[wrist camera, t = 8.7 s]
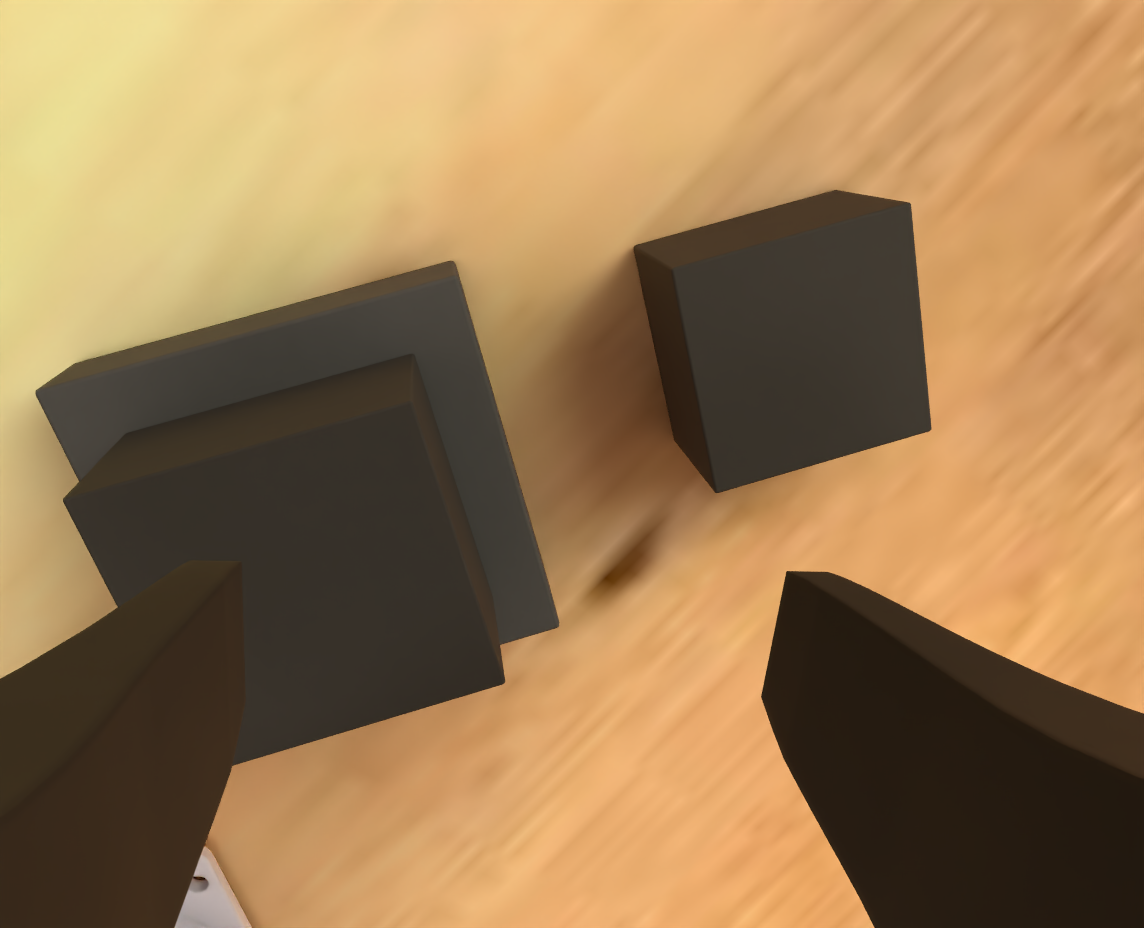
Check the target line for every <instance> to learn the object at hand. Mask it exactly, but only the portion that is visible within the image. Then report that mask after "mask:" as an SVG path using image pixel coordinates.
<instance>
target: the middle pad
mask: <svg viewBox="0 0 1144 928" xmlns="http://www.w3.org/2000/svg"><path fill="white" fill-rule="evenodd" d="M63 502H64V504H65V506H66V508H67V510H68V512H69V514H70V516H71V518H72V520H73V522H74V523H75V525H76V527H77V529H78V531H79V533H80V535H81V537H82V539H83V541H84V543H85V545H86V547H87V549H88V551H89V553H90V554H91V556H92V558H93V560H94V562H95V564H96V566H97V568H98V570H99V572H100V574H101V576H102V578H103V580H104V582H105V584H106V585H107V587H108V589H109V591H110V593H111V595H112V597H113V599H114V601H115V603H116V605H117V607H120V606H121V605H123V604H124V603H126V602H127V601H129V600H130V599H132V598H133V597H135V596H136V595H137V594H139V593H140V592H142V591H143V590H145V589H146V588H148V587H149V586H151V585H152V584H154V583H155V582H156V581H158V580H159V579H161V578H162V577H164V576H165V575H167V574H168V573H170V572H171V571H173V570H174V569H176V568H177V567H179V566H181V565H182V564H184V563H186V562H188V561H190V560H201V561H242V593H243V625H244V657H245V690H246V703H245V707H244V712H243V717H242V722H241V727H240V732H239V737H238V742H237V746H236V751H235V755H234V759H233V764H232V766H233V765H236V764H240V763H243V762H246V761H250V760H253V759H256V758H260V757H263V756H266V755H270V754H273V753H276V752H280V751H283V750H286V749H289V748H293V747H296V746H299V745H303V744H306V743H309V742H313V741H316V740H319V739H323V738H326V737H329V736H333V735H336V734H339V733H343V732H346V731H349V730H353V729H356V728H359V727H363V726H366V725H369V724H372V723H376V722H379V721H382V720H386V719H389V718H392V717H396V716H399V715H402V714H406V713H409V712H412V711H416V710H419V709H422V708H426V707H429V706H432V705H436V704H439V703H442V702H446V701H449V700H452V699H456V698H459V697H462V696H465V695H469V694H472V693H475V692H479V691H482V690H485V689H489V688H492V687H495V686H499V685H502V684H504V683H505V677H504V670H503V663H502V656H501V649H500V643H499V636H498V629H497V622H496V615H495V608H494V602H493V596H492V593H491V590H490V587H489V584H488V581H487V577H486V574H485V571H484V568H483V565H482V562H481V559H480V556H479V553H478V550H477V547H476V543H475V540H474V537H473V534H472V531H471V528H470V525H469V522H468V519H467V516H466V512H465V509H464V506H463V503H462V500H461V497H460V494H459V491H458V488H457V485H456V482H455V478H454V475H453V472H452V469H451V466H450V463H449V460H448V457H447V454H446V451H445V448H444V444H443V441H442V438H441V435H440V432H439V429H438V426H437V423H436V420H435V417H434V414H433V410H432V407H431V404H430V401H429V398H428V395H427V392H426V389H425V386H424V383H423V380H422V376H421V373H420V370H419V367H418V364H417V361H416V358H415V355H414V354H408V355H404V356H400V357H397V358H393V359H390V360H386V361H383V362H379V363H375V364H372V365H368V366H365V367H361V368H357V369H354V370H350V371H347V372H343V373H340V374H336V375H332V376H329V377H325V378H322V379H318V380H315V381H311V382H307V383H304V384H300V385H297V386H293V387H289V388H286V389H282V390H279V391H275V392H272V393H268V394H264V395H261V396H257V397H254V398H250V399H246V400H243V401H239V402H236V403H232V404H229V405H225V406H221V407H218V408H214V409H211V410H207V411H204V412H200V413H196V414H193V415H189V416H186V417H182V418H178V419H175V420H171V421H168V422H164V423H161V424H157V425H153V426H150V427H146V428H143V429H139V430H135V431H132V432H128V433H126V434H124V435H123V436H122V438H121V439H120V440H119V441H118V442H117V443H116V444H115V445H114V446H113V447H112V448H111V449H110V450H109V451H108V452H107V453H106V454H105V455H104V457H103V458H102V459H101V460H100V461H99V462H98V463H97V464H96V465H95V466H94V467H93V468H92V469H91V470H90V471H89V472H88V473H87V474H86V475H85V477H84V478H83V479H82V480H81V481H80V482H79V483H78V484H77V485H76V486H75V487H74V488H73V489H72V490H71V491H70V492H69V493H68V494H67V495H66V497H65V498H64V499H63Z"/></svg>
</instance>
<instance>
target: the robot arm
mask: <svg viewBox="0 0 1144 928" xmlns="http://www.w3.org/2000/svg"><path fill="white" fill-rule="evenodd" d="M761 698H762V700H763V703H764V706H765V709H766V712H767V715H768V718H769V721H770V724H771V726H772V729H773V732H774V735H775V737H776V740H777V742H778V745H779V747H780V750H781V753H782V755H783V758H784V760H785V762H786V764H787V766H788V768H789V770H790V772H791V773H792V775H793V777H794V779H795V781H796V783H797V785H798V787H799V788H800V790H801V792H802V794H803V796H804V798H805V800H806V801H807V803H808V805H809V807H810V809H811V811H812V812H813V814H814V816H815V818H816V820H817V821H818V823H819V825H820V827H821V829H822V830H823V832H824V834H825V836H826V838H827V839H828V841H829V843H830V845H831V847H832V849H833V850H834V852H835V854H836V856H837V858H838V859H839V861H840V863H841V865H842V867H843V868H844V870H845V872H846V874H847V876H848V877H849V879H850V881H851V883H852V885H853V887H854V888H855V890H856V892H857V894H858V896H859V897H860V899H861V901H862V903H863V905H864V907H865V909H866V911H867V913H868V915H869V917H870V919H871V921H872V923H873V925H874V927H875V928H1144V714H1143V713H1140V712H1137V711H1134V710H1131V709H1129V708H1126V707H1123V706H1120V705H1117V704H1115V703H1112V702H1110V701H1107V700H1104V699H1102V698H1099V697H1097V696H1094V695H1092V694H1089V693H1086V692H1084V691H1081V690H1079V689H1076V688H1074V687H1071V686H1068V685H1066V684H1063V683H1061V682H1059V681H1056V680H1054V679H1051V678H1049V677H1047V676H1044V675H1042V674H1040V673H1037V672H1035V671H1033V670H1031V669H1029V668H1027V667H1024V666H1022V665H1020V664H1018V663H1016V662H1014V661H1011V660H1009V659H1007V658H1005V657H1003V656H1001V655H998V654H996V653H994V652H992V651H990V650H988V649H986V648H984V647H982V646H980V645H978V644H976V643H974V642H972V641H970V640H967V639H965V638H963V637H961V636H960V635H958V634H956V633H954V632H952V631H950V630H948V629H946V628H944V627H942V626H940V625H938V624H936V623H934V622H932V621H930V620H928V619H926V618H924V617H922V616H921V615H919V614H917V613H915V612H913V611H911V610H909V609H907V608H905V607H903V606H901V605H899V604H897V603H895V602H894V601H892V600H890V599H888V598H886V597H884V596H882V595H880V594H878V593H876V592H874V591H872V590H870V589H868V588H866V587H863V586H861V585H859V584H857V583H855V582H853V581H850V580H848V579H846V578H843V577H841V576H838V575H835V574H832V573H829V572H799V571H787V572H786V577H785V582H784V587H783V592H782V597H781V601H780V606H779V611H778V616H777V621H776V626H775V631H774V636H773V641H772V646H771V651H770V656H769V661H768V666H767V671H766V676H765V681H764V686H763V691H762V696H761ZM245 703H246V690H245V657H244V625H243V593H242V561H201V560H190V561H188V562H186V563H184V564H182V565H181V566H179V567H177V568H176V569H174V570H173V571H171V572H170V573H168V574H167V575H165V576H164V577H162V578H161V579H159V580H158V581H156V582H155V583H154V584H152V585H151V586H149V587H148V588H146V589H145V590H143V591H142V592H140V593H139V594H137V595H136V596H135V597H133V598H132V599H130V600H129V601H127V602H126V603H124V604H123V605H121V606H120V607H118V608H117V609H115V610H114V611H112V612H111V613H109V614H108V615H106V616H105V617H103V618H102V619H100V620H99V621H97V622H96V623H94V624H93V625H91V626H90V627H88V628H86V629H85V630H83V631H81V632H80V633H78V634H76V635H75V636H73V637H71V638H70V639H68V640H66V641H65V642H63V643H61V644H60V645H58V646H56V647H55V648H53V649H51V650H50V651H48V652H46V653H45V654H43V655H41V656H40V657H38V658H36V659H35V660H33V661H31V662H30V663H28V664H26V665H24V666H23V667H21V668H19V669H17V670H16V671H14V672H12V673H10V674H8V675H6V676H5V677H3V678H1V679H0V928H252V926H251V925H250V923H249V921H248V919H247V917H246V915H245V913H244V911H243V910H242V908H241V906H240V904H239V902H238V900H237V898H236V896H235V895H234V893H233V891H232V889H231V887H230V885H229V883H228V882H227V880H226V878H225V876H224V874H223V872H222V870H221V868H220V867H219V865H218V863H217V861H216V859H215V857H214V855H213V853H212V852H211V851H210V850H209V849H208V848H207V847H205V846H204V845H205V842H206V840H207V837H208V834H209V831H210V829H211V826H212V823H213V820H214V817H215V815H216V812H217V809H218V806H219V803H220V801H221V798H222V795H223V792H224V789H225V787H226V784H227V781H228V778H229V775H230V772H231V768H232V764H233V759H234V755H235V751H236V746H237V742H238V737H239V732H240V727H241V722H242V717H243V712H244V707H245ZM195 876H200V877H204V878H205V879H206V880H197V879H194V878H193V877H195Z"/></svg>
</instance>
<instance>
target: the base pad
mask: <svg viewBox="0 0 1144 928" xmlns="http://www.w3.org/2000/svg"><path fill="white" fill-rule="evenodd" d="M408 354H414V355H415V358H416V361H417V364H418V367H419V370H420V373H421V376H422V380H423V383H424V386H425V389H426V392H427V395H428V398H429V401H430V404H431V407H432V410H433V414H434V417H435V420H436V423H437V426H438V429H439V432H440V435H441V438H442V441H443V444H444V448H445V451H446V454H447V457H448V460H449V463H450V466H451V469H452V472H453V475H454V478H455V482H456V485H457V488H458V491H459V494H460V497H461V500H462V503H463V506H464V509H465V512H466V516H467V519H468V522H469V525H470V528H471V531H472V534H473V537H474V540H475V543H476V547H477V550H478V553H479V556H480V559H481V562H482V565H483V568H484V571H485V574H486V577H487V581H488V584H489V587H490V590H491V593H492V596H493V602H494V608H495V615H496V622H497V629H498V636H499V643H500V645H501V644H504V643H508V642H511V641H514V640H518V639H521V638H524V637H528V636H531V635H534V634H538V633H541V632H545V631H548V630H551V629H555V628H557V627H559V619H558V616H557V612H556V608H555V605H554V601H553V597H552V594H551V590H550V586H549V583H548V579H547V576H546V572H545V569H544V565H543V562H542V559H541V555H540V552H539V548H538V545H537V542H536V538H535V535H534V531H533V528H532V524H531V521H530V518H529V514H528V511H527V507H526V504H525V500H524V497H523V494H522V490H521V487H520V483H519V480H518V476H517V473H516V470H515V466H514V463H513V459H512V456H511V453H510V449H509V446H508V442H507V439H506V435H505V432H504V429H503V425H502V422H501V418H500V415H499V411H498V408H497V405H496V401H495V398H494V394H493V391H492V387H491V384H490V381H489V377H488V374H487V370H486V367H485V363H484V360H483V357H482V353H481V350H480V346H479V343H478V340H477V336H476V333H475V329H474V326H473V322H472V319H471V316H470V312H469V309H468V305H467V302H466V298H465V295H464V292H463V288H462V285H461V281H460V278H459V274H458V271H457V268H456V264H455V263H454V262H453V261H448V262H444V263H441V264H437V265H433V266H430V267H426V268H422V269H419V270H415V271H411V272H408V273H404V274H401V275H397V276H393V277H390V278H386V279H382V280H379V281H375V282H371V283H368V284H364V285H360V286H357V287H353V288H349V289H346V290H342V291H338V292H335V293H331V294H327V295H324V296H320V297H316V298H313V299H309V300H305V301H302V302H298V303H294V304H291V305H287V306H284V307H280V308H276V309H273V310H269V311H265V312H262V313H258V314H254V315H251V316H247V317H243V318H240V319H236V320H232V321H229V322H225V323H221V324H218V325H214V326H210V327H207V328H203V329H199V330H196V331H192V332H188V333H185V334H181V335H177V336H174V337H170V338H167V339H163V340H159V341H156V342H152V343H148V344H145V345H141V346H137V347H134V348H130V349H126V350H123V351H119V352H115V353H112V354H108V355H104V356H101V357H97V358H93V359H90V360H86V361H82V362H79V363H75V364H73V365H72V366H70V367H69V368H67V369H66V370H65V371H63V372H62V373H60V374H59V375H57V376H56V377H55V378H53V379H52V380H50V381H49V382H47V383H46V384H45V385H43V386H42V387H40V388H39V389H38V390H36V396H37V398H38V400H39V402H40V404H41V406H42V408H43V410H44V412H45V414H46V416H47V418H48V420H49V422H50V424H51V426H52V428H53V430H54V432H55V434H56V436H57V438H58V440H59V442H60V444H61V446H62V448H63V450H64V452H65V454H66V456H67V458H68V460H69V462H70V464H71V466H72V468H73V470H74V472H75V474H76V476H77V478H78V480H79V482H80V481H81V480H82V479H83V478H84V477H85V475H86V474H87V473H88V472H89V471H90V470H91V469H92V468H93V467H94V466H95V465H96V464H97V463H98V462H99V461H100V460H101V459H102V458H103V457H104V455H105V454H106V453H107V452H108V451H109V450H110V449H111V448H112V447H113V446H114V445H115V444H116V443H117V442H118V441H119V440H120V439H121V438H122V436H123V435H124V434H126V433H128V432H132V431H135V430H139V429H143V428H146V427H150V426H153V425H157V424H161V423H164V422H168V421H171V420H175V419H178V418H182V417H186V416H189V415H193V414H196V413H200V412H204V411H207V410H211V409H214V408H218V407H221V406H225V405H229V404H232V403H236V402H239V401H243V400H246V399H250V398H254V397H257V396H261V395H264V394H268V393H272V392H275V391H279V390H282V389H286V388H289V387H293V386H297V385H300V384H304V383H307V382H311V381H315V380H318V379H322V378H325V377H329V376H332V375H336V374H340V373H343V372H347V371H350V370H354V369H357V368H361V367H365V366H368V365H372V364H375V363H379V362H383V361H386V360H390V359H393V358H397V357H400V356H404V355H408Z"/></svg>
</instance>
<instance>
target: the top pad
mask: <svg viewBox="0 0 1144 928" xmlns="http://www.w3.org/2000/svg"><path fill="white" fill-rule="evenodd" d="M634 253H635V258H636V263H637V267H638V272H639V277H640V281H641V286H642V291H643V295H644V300H645V305H646V309H647V314H648V319H649V324H650V328H651V333H652V338H653V342H654V347H655V352H656V356H657V361H658V366H659V370H660V375H661V380H662V385H663V389H664V394H665V399H666V403H667V408H668V413H669V417H670V422H671V427H672V431H673V436H674V440H675V442H676V443H677V444H678V445H679V447H680V448H681V449H682V451H683V452H684V453H685V454H686V456H687V457H688V458H689V459H690V461H691V462H692V463H693V465H694V466H695V467H696V468H697V470H698V471H699V472H700V474H701V475H702V476H703V477H704V479H705V480H706V481H707V482H708V484H709V485H710V486H711V488H712V489H713V490H714V491H715V493H719V492H723V491H726V490H730V489H733V488H737V487H740V486H743V485H747V484H750V483H754V482H757V481H761V480H764V479H767V478H771V477H774V476H778V475H781V474H784V473H788V472H791V471H795V470H798V469H802V468H805V467H808V466H812V465H815V464H819V463H822V462H826V461H829V460H832V459H836V458H839V457H843V456H846V455H849V454H853V453H856V452H860V451H863V450H867V449H870V448H873V447H877V446H880V445H884V444H887V443H891V442H894V441H897V440H901V439H904V438H908V437H911V436H914V435H918V434H921V433H925V432H928V431H930V430H931V419H930V408H929V397H928V386H927V375H926V364H925V353H924V342H923V331H922V321H921V310H920V299H919V288H918V277H917V266H916V255H915V244H914V233H913V222H912V212H911V204H910V203H908V202H902V201H896V200H891V199H885V198H879V197H873V196H867V195H861V194H855V193H850V192H844V191H838V190H834V191H831V192H827V193H824V194H820V195H816V196H813V197H809V198H805V199H802V200H798V201H794V202H791V203H787V204H784V205H780V206H776V207H773V208H769V209H765V210H762V211H758V212H755V213H751V214H747V215H744V216H740V217H736V218H733V219H729V220H726V221H722V222H718V223H715V224H711V225H707V226H704V227H700V228H696V229H693V230H689V231H686V232H682V233H678V234H675V235H671V236H667V237H664V238H660V239H657V240H653V241H649V242H646V243H642V244H638V245H635V246H634Z"/></svg>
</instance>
